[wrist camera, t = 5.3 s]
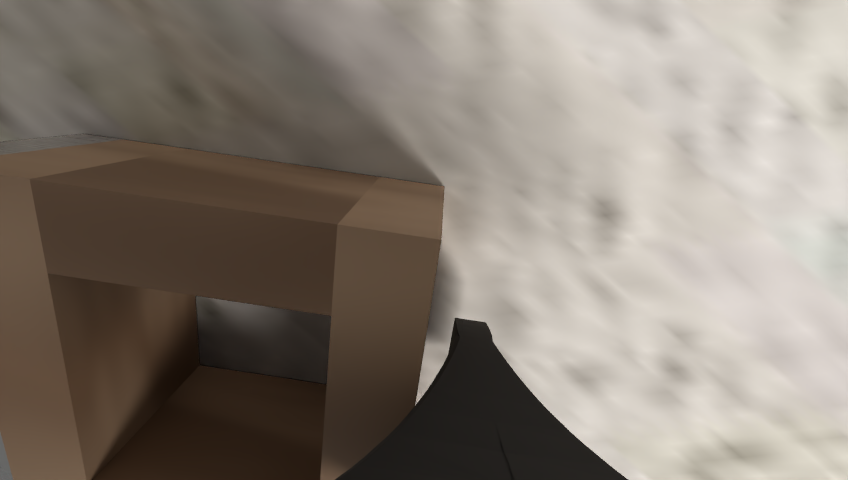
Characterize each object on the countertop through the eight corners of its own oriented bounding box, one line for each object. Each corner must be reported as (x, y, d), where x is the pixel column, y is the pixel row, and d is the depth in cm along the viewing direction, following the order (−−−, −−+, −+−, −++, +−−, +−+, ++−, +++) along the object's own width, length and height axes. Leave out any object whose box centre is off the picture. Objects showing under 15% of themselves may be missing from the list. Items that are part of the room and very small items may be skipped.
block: (405, 439, 13) (386, 583, 9) (151, 400, 13) (26, 527, 9) (444, 186, 10) (441, 239, 6) (123, 139, 10) (-72, 164, 6)
